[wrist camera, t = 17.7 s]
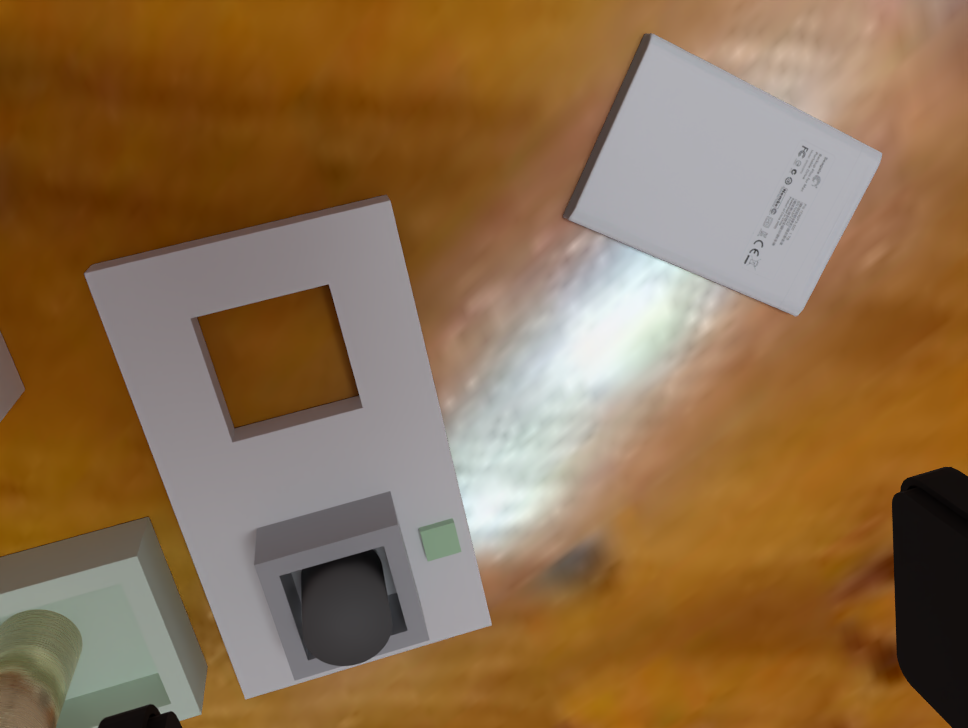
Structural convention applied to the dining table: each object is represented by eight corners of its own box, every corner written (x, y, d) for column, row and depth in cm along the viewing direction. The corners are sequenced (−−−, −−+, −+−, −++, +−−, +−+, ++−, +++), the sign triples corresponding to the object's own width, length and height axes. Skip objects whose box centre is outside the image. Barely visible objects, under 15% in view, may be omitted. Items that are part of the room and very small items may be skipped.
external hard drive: (639, 33, 37) (866, 149, 41) (558, 214, 39) (782, 310, 43) (654, 32, 36) (888, 153, 40) (569, 221, 38) (800, 319, 42)
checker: (91, 264, 35) (65, 293, 31) (386, 194, 37) (398, 213, 33) (246, 678, 43) (242, 746, 39) (485, 607, 45) (505, 664, 40)
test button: (291, 552, 39) (291, 605, 35) (372, 529, 39) (380, 579, 36) (313, 618, 40) (315, 676, 36) (390, 596, 41) (401, 651, 37)
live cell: (-20, 623, 39) (-93, 760, 31) (64, 599, 39) (12, 728, 32) (13, 688, 40) (-50, 834, 32) (94, 664, 40) (51, 802, 33)
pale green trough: (-136, 594, 38) (-173, 642, 35) (148, 516, 39) (136, 556, 36) (-53, 743, 41) (-81, 799, 38) (207, 666, 42) (201, 714, 39)
